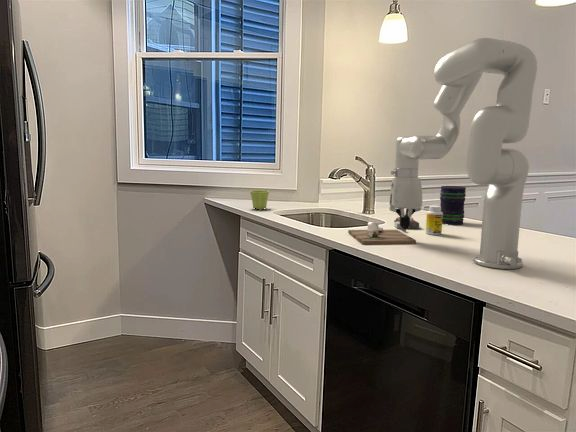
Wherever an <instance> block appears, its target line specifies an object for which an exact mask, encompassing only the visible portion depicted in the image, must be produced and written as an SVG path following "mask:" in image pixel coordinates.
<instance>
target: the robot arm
mask: <svg viewBox="0 0 576 432" xmlns="http://www.w3.org/2000/svg"><path fill="white" fill-rule="evenodd" d="M537 60H538V59H537V57H536V55H535V53H534V52H533V50H532V49H530V48H529V47H527V46H525V45H523V44H521V43H519V42H514V41H510V40H504V39H497V38H492V37H491V38H490V37H481V38H480V37H479V38H476V39H473V40H472V41H469V42H467V43H466V44H463V45H462V46H460V47H458V48H456V49H454V50H452V51H450V52H448V53H447V54H445V55H444V56H442V57H441V58H440V59H439V60H438V61H437V64H436V65H435V68H434V70H433V71H434V73H433V76H434V79H435V82H436V83H437V84H439V85H440V86H441V88H440V90H439V92H438V93H437V96H436V97H435V98H434V100H433V107H434V109H435V110H436V111H437V112H439V114H441V115H442V118H443V120H442V123H441V126H440V128H439V130H438V132H437V134H436V135H414V136H399V137H397V139H396V140H395V141H396V142H395V157H394V158H395V159H394V160H395V162H394V163H395V164H394V169H393V170H390V174H391V175H393V176H394V177H393V178H392V181H391V185H390V192H389V208H388V210H389V211H390V212H393V213H395V214H397V215H398V217H400V226H401V228H402V229H406V230H409V229H408V227H409V226H410V217H412V216H413V214H414V213H417V212H420V211H422V206H423V187H422V180H421V178H419V162H420V160H439V159H440V160H441V159H442V158H445V157H446V156H447V155H448V154H449V153H450V151H451V150H452V148H453V146H454V144H455V143H456V142H457V140H458V138H459V135H460V130H461V117H460V116H461V114H462V111H463V109H464V107H465V106H466V104H467V102H468V101H469V99H470V98H471V95H472V94H473V92H474V90H475V89H476V87H477V86H478V84H479V82H480V80H481V78H482V76H483V73H485V74H497V75H502V76H504V78H503V79H502V80H501V82H500V84H499V86H498V89H497V93H496V100H495V101H496V102H495V105H489V106H484V107H483V108H481V109H480V110H479V111H478V112H477V113H475V115H474V117H473V119H472V120H471V124H470V129H469V135H468V136H469V137H468V147H467V153H466V155H467V156H466V173H467V175H468V178H469V180H470V181H471V182H473V183H474V184H475V185H478V186H487V189H486V191H485V194H484V199H483V207H482V218H481V219H482V220H481V222H482V223H481V231H480V232H481V233H480V246H479V247H480V248H479V249H480V250H479V254H478V255H475V256H473V262H474V263H475V264H477V265H480V266H483V267H487V268H491V269H501V270H502V269H504V270H514V269H520V268H522V267H523V264H524V262H523V259H522V258H521V257H519V251H518V248H519V237H520V227H521V217H522V216H521V214H522V213H521V212H522V207H523V198H524V197H523V195H524V190H525V185H526V182H527V179H528V175H529V169H530V166H529V161H528V158H527V157H526V155H525V154H524V153H523V152H522V151H520V150H517V149H514V148H503V144H515V143H516V144H517V143H519V142H521V141H523V140H524V139H525V138H526V136H527V135H528V131H529V128H530V127H529V126H530V119H531V111H532V103H533V94H534V86H535V83H536V78H537V72H538V62H537ZM402 229H401V230H402Z"/></svg>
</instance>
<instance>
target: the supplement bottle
mask: <svg viewBox="0 0 576 432" xmlns="http://www.w3.org/2000/svg"><path fill="white" fill-rule="evenodd" d="M428 209H429V210H428V211H426V220H425V221H426V222H425V233H426V234H427V235H431V236H440V235H442V230H443V224H442V219H443V212H441V206H440V205H429V208H428Z"/></svg>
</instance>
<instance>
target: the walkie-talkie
mask: <svg viewBox="0 0 576 432" xmlns="http://www.w3.org/2000/svg"><path fill="white" fill-rule="evenodd" d="M393 221H394V227H395V229H396V230H398V229H399V230H403V231H405V232H406V231H407V230H419V229H420V222H419V221H416V220H414V217H412V216H411V217H410V226H409V227H408V229H402V228H401V226H400V216H397V217H396V218H395V219H394V220H393Z"/></svg>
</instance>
